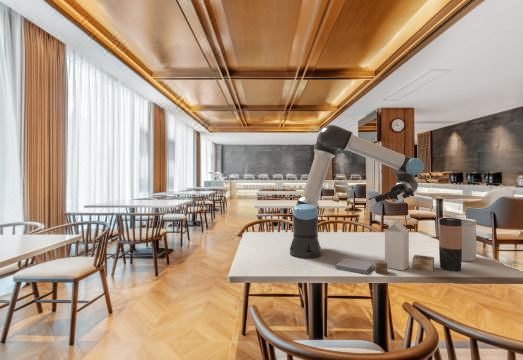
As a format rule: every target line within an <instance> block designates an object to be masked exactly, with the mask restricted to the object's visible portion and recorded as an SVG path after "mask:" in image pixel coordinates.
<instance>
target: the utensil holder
mask: <svg viewBox="0 0 523 360" xmlns="http://www.w3.org/2000/svg"><path fill="white" fill-rule="evenodd" d="M439 218H440V219H442V218H443V217H439ZM439 218H437V222H438V223H439ZM456 218H457V219H461V220H462V261H461V262H474V261H476V259H477V223H478V221H477V220H476V219H473V218H465V217H464V218H463V217H456Z"/></svg>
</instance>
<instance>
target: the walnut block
mask: <svg viewBox="0 0 523 360" xmlns="http://www.w3.org/2000/svg"><path fill="white" fill-rule="evenodd" d="M374 271H375V273H376V274H380V275H388V268H387V262H386V261H385V260H379V259H378V260H377V259H375V260H374Z"/></svg>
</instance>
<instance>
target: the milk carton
mask: <svg viewBox="0 0 523 360" xmlns="http://www.w3.org/2000/svg"><path fill="white" fill-rule="evenodd" d="M409 232H410V230H409V229H408V228H407V227H406V226H405V225H404V224H402V223H401V220H400V219H398V220H394V221H393V222H391V223H389V224H388V228H386V229H385V231H384V261H386V262H387V269H393V270H394V269H395V270H396V271H397V270H398V271H405V270H406V269H408V268H409V267H410V265H409V264H410V260H409V259H410V245H409V244H410V239H409V238H410V236H409V235H410V233H409Z"/></svg>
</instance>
